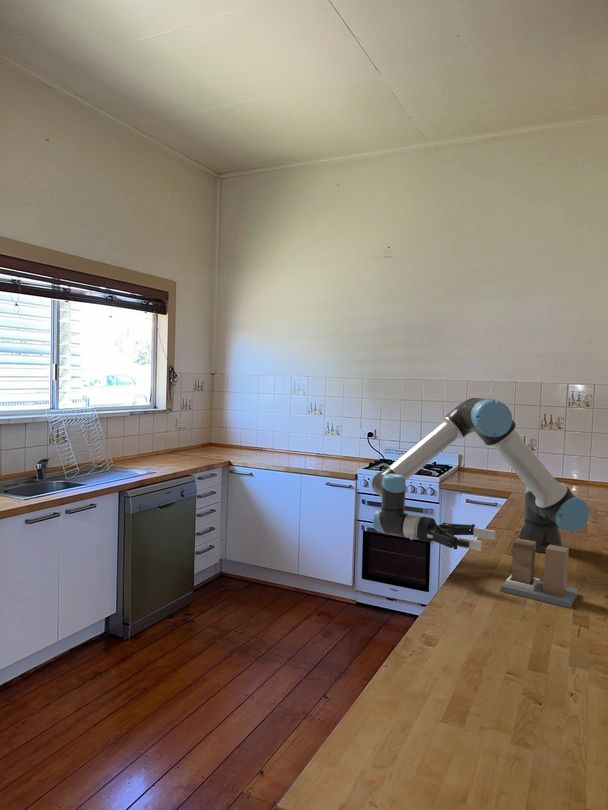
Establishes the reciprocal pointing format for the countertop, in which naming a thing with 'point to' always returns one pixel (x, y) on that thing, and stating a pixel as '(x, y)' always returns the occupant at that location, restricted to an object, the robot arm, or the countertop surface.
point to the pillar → (523, 561)
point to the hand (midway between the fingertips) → (488, 540)
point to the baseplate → (543, 595)
